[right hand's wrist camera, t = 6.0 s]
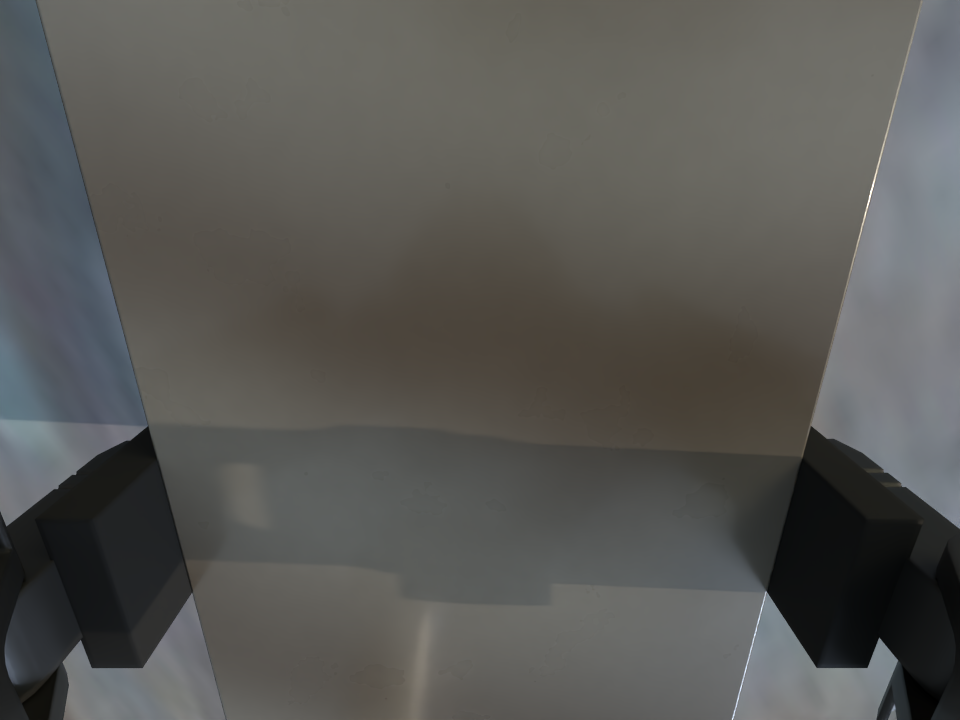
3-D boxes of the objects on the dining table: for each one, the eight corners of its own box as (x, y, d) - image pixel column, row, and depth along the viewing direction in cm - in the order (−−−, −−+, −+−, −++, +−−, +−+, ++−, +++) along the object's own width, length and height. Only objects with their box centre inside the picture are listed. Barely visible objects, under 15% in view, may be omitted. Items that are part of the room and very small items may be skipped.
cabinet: (299, -112, 15) (-194, -842, 4) (659, -112, 15) (1149, -839, 4) (355, 438, 21) (226, 729, 10) (604, 438, 21) (733, 729, 10)
